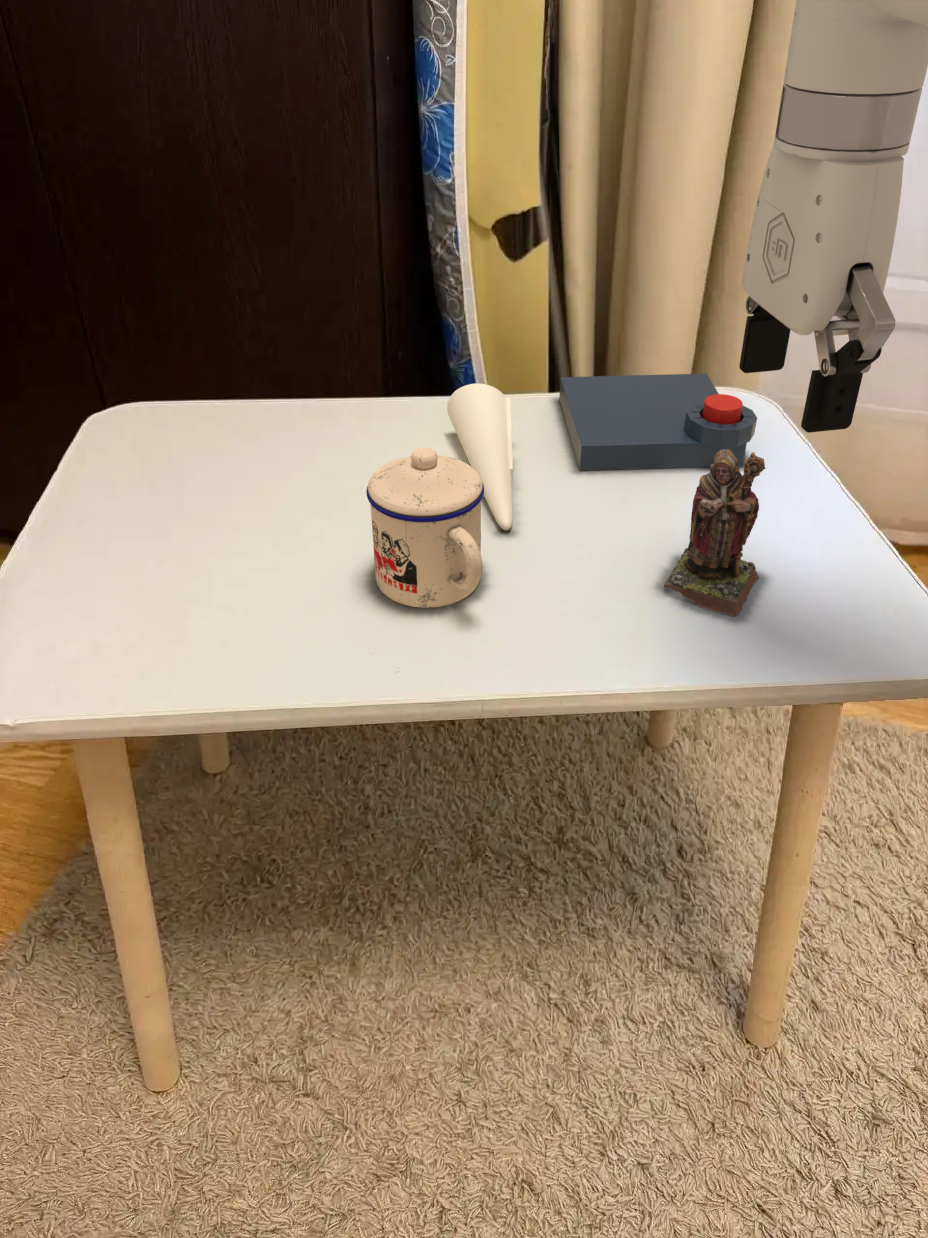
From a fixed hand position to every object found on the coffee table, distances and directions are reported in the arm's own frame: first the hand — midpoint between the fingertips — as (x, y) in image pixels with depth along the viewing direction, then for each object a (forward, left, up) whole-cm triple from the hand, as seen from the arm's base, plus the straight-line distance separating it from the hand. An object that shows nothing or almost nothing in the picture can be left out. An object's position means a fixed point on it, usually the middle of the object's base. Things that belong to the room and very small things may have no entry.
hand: (791, 397), depth 67 cm
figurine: (+3, -2, -18) cm, 18 cm away
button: (+7, -24, -14) cm, 29 cm away
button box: (+14, -27, -18) cm, 36 cm away
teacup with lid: (+24, +6, -18) cm, 31 cm away
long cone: (+27, -12, -18) cm, 35 cm away
